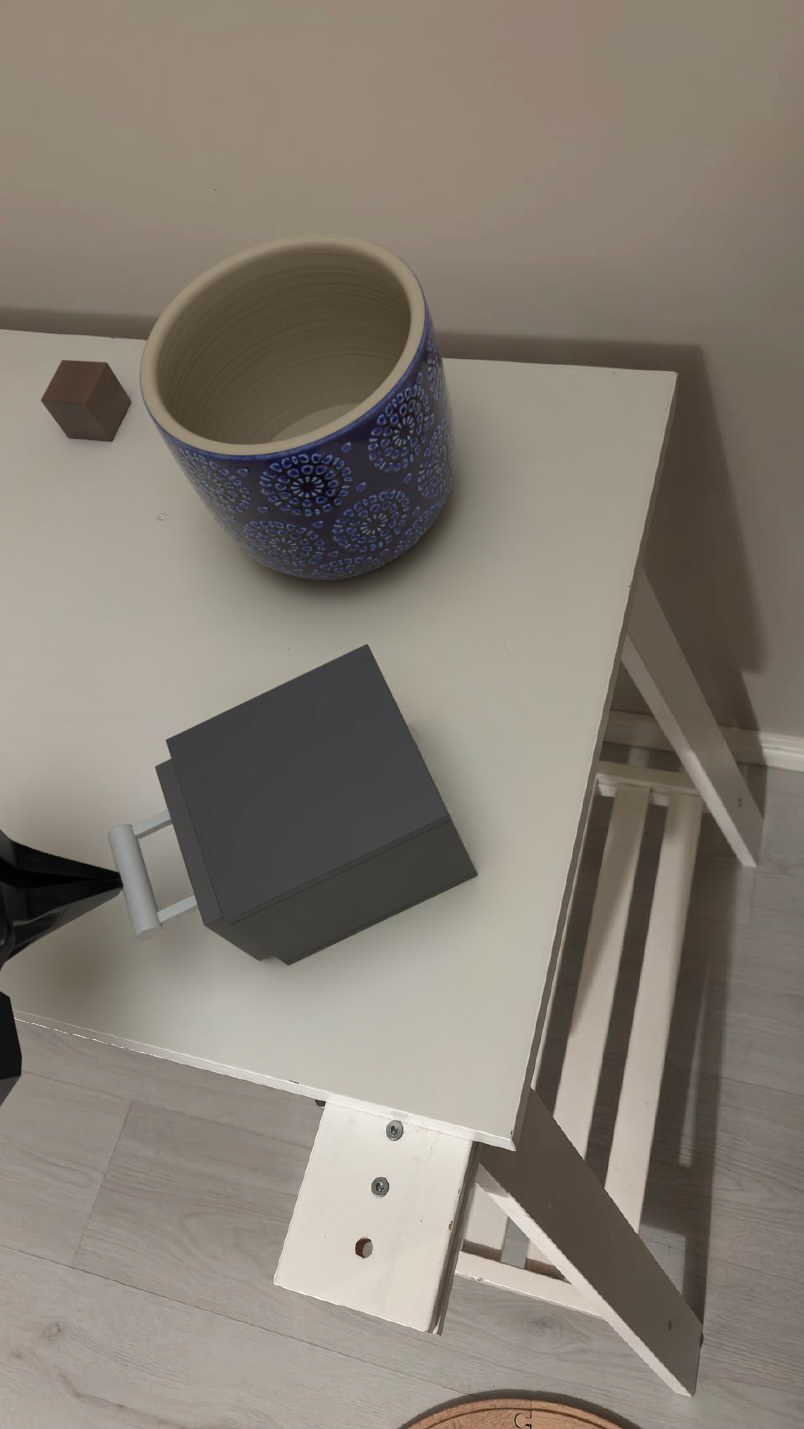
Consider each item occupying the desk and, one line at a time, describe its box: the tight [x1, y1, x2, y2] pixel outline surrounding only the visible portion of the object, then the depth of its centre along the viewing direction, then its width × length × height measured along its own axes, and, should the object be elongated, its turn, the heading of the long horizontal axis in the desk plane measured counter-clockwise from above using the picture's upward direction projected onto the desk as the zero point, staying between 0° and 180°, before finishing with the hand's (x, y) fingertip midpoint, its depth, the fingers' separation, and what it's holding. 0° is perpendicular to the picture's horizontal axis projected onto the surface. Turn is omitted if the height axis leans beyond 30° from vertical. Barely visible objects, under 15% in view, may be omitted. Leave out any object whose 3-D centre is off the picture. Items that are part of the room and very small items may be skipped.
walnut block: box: [40, 359, 132, 442], centre depth 74 cm, size 4×4×4 cm
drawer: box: [107, 758, 273, 962], centre depth 52 cm, size 14×9×8 cm, turn 113°
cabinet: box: [165, 643, 479, 966], centre depth 52 cm, size 11×10×9 cm
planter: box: [139, 232, 457, 581], centre depth 60 cm, size 17×17×15 cm
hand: (119, 883), depth 50 cm, fingers closed, pressing on drawer
